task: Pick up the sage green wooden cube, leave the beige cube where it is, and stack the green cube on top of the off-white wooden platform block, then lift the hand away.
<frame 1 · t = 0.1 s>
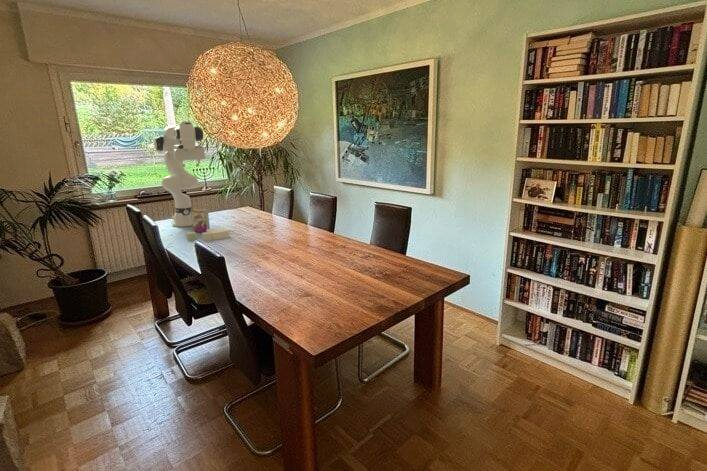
hand: (190, 166, 249), 48 cm above the table, tool pointing down, fingers open, 8 cm apart
beige cube: (207, 240, 246), on the table
green cube: (191, 239, 246), on the table
candy bar box: (201, 231, 266), on the table
base block: (218, 236, 254), on the table
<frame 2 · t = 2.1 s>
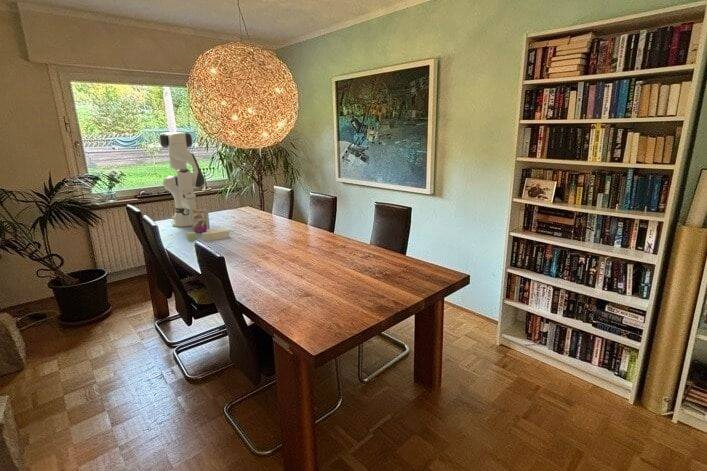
hand: (189, 214, 241), 18 cm above the table, tool pointing down, fingers open, 8 cm apart
nothing on the table moved.
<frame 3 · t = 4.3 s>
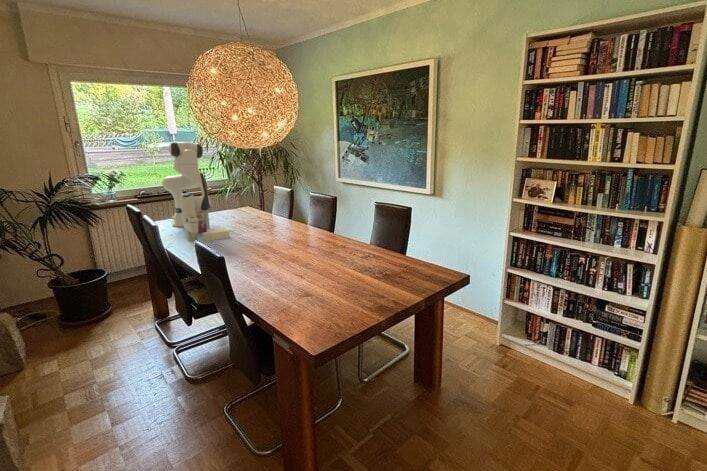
hand: (191, 237, 245), 2 cm above the table, tool pointing down, fingers closed on green cube, 5 cm apart
green cube: (191, 239, 246), on the table, touching gripper
everything else where it was.
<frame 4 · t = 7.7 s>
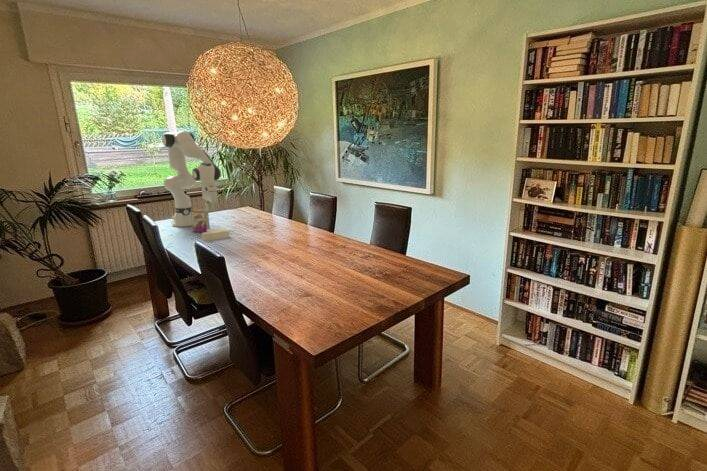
hand: (210, 207, 247), 21 cm above the table, tool pointing down, fingers closed on green cube, 5 cm apart
green cube: (210, 209, 247), point 20 cm above the table, touching gripper
everything else where it was.
when the fingers open (8 cm above the table, at t = 11.3 s): green cube drops 2 cm, resting on base block.
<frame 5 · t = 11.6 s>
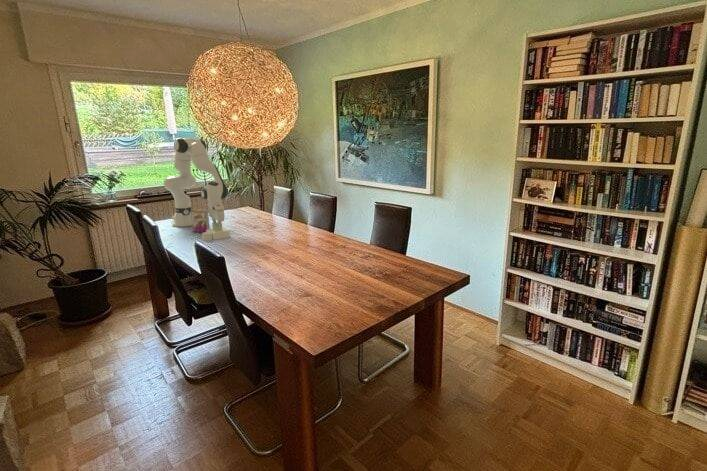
hand: (217, 225, 252), 8 cm above the table, tool pointing down, fingers open, 8 cm apart
green cube: (217, 230, 253), point 5 cm above the table, touching base block
base block: (218, 236, 254), on the table, touching green cube
everything else where it was.
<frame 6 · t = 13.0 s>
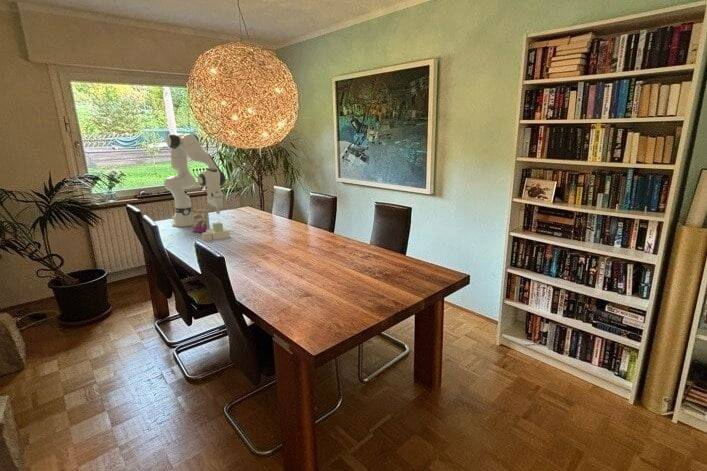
hand: (215, 212, 249), 17 cm above the table, tool pointing down, fingers open, 8 cm apart
nothing on the table moved.
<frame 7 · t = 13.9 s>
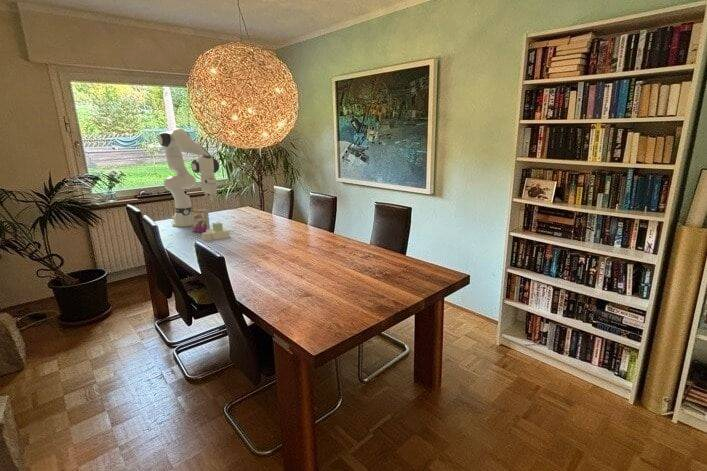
hand: (209, 199, 247), 26 cm above the table, tool pointing down, fingers open, 8 cm apart
nothing on the table moved.
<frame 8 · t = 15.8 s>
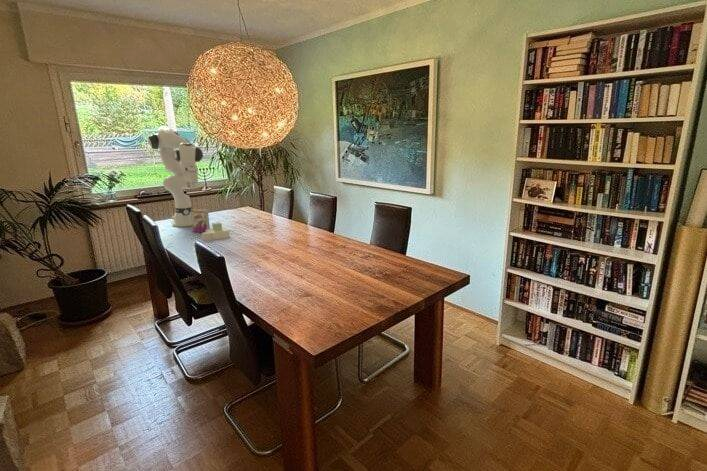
hand: (191, 188, 244), 34 cm above the table, tool pointing down, fingers open, 8 cm apart
green cube: (217, 230, 253), point 5 cm above the table
base block: (217, 236, 254), on the table
everything else where it was.
at the end: green cube inside the target area on the base block (0.4 cm from its centre), point 5.0 cm above the base block's base; green cube tilted 1°; the gripper is holding nothing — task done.
